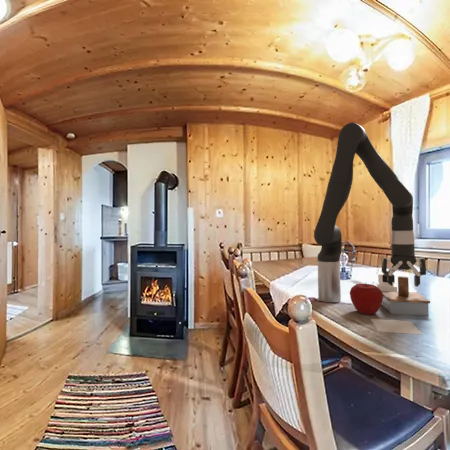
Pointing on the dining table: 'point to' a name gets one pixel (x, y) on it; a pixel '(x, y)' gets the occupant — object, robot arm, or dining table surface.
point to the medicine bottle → (386, 283)
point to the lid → (404, 293)
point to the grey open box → (406, 307)
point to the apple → (366, 298)
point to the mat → (395, 326)
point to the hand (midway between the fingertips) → (403, 285)
